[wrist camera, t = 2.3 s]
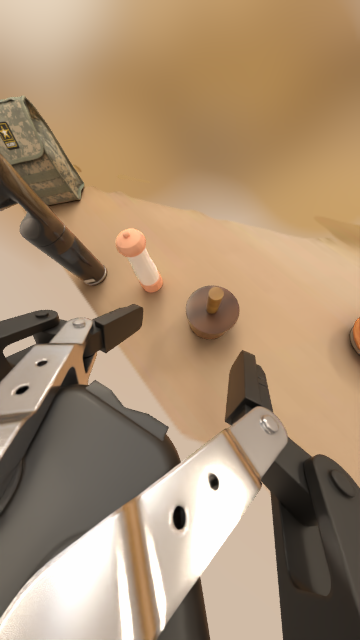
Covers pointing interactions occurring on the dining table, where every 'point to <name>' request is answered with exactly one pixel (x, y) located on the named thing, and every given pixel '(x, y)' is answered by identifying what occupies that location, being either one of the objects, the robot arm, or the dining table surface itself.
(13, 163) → the lunch bag
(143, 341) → the dining table surface
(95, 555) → the robot arm
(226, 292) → the lid
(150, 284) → the pepper shaker
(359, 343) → the pie
